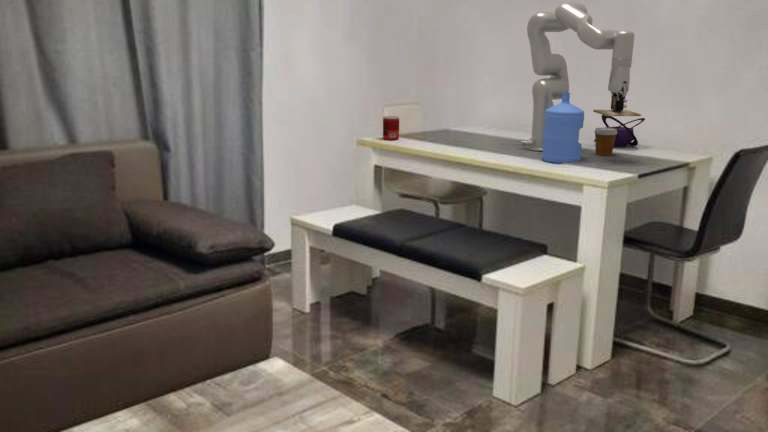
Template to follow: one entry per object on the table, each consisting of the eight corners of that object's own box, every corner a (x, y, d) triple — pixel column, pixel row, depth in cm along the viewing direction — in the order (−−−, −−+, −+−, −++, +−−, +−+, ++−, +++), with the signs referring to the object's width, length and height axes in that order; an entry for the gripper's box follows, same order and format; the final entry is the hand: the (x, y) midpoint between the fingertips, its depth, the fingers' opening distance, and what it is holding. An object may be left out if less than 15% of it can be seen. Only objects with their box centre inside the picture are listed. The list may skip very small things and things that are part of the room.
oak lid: (606, 116, 284) (608, 98, 282) (593, 111, 298) (594, 94, 296) (640, 116, 285) (642, 98, 284) (626, 111, 299) (627, 95, 297)
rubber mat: (600, 168, 285) (600, 165, 285) (585, 161, 300) (585, 158, 300) (644, 167, 287) (644, 165, 287) (626, 160, 302) (627, 158, 302)
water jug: (557, 165, 290) (562, 94, 283) (534, 158, 304) (538, 91, 297) (588, 162, 296) (594, 93, 289) (564, 156, 310) (569, 90, 303)
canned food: (401, 139, 354) (402, 116, 351) (393, 141, 347) (393, 118, 344) (388, 137, 358) (388, 115, 355) (379, 139, 351) (380, 117, 348)
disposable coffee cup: (611, 159, 305) (614, 131, 302) (589, 157, 310) (591, 129, 307) (617, 156, 313) (620, 128, 310) (595, 154, 318) (598, 126, 315)
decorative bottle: (652, 149, 332) (657, 94, 326) (612, 151, 326) (617, 95, 319) (622, 142, 353) (627, 90, 346) (584, 143, 346) (589, 90, 340)
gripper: (604, 62, 294) (599, 107, 299) (620, 64, 278) (616, 112, 283) (622, 62, 295) (617, 107, 299) (639, 64, 279) (634, 112, 283)
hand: (616, 109), depth 291 cm, fingers closed on oak lid, 3 cm apart
